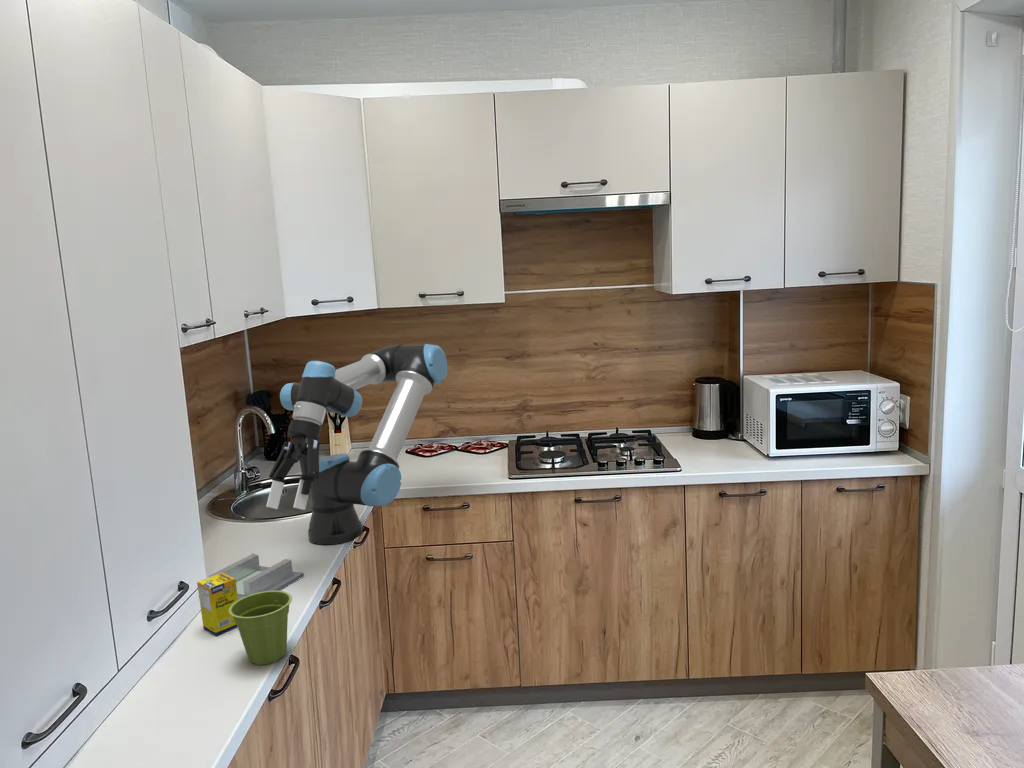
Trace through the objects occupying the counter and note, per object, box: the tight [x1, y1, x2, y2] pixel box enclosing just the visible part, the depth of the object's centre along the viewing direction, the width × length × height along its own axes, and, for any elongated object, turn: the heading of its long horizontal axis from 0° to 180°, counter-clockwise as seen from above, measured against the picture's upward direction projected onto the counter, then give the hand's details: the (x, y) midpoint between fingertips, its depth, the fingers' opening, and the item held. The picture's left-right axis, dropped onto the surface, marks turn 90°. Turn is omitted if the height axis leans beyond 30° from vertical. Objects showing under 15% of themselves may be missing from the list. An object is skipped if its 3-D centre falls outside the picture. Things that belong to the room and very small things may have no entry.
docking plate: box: [208, 553, 305, 600], centre depth 180 cm, size 18×16×5 cm
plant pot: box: [229, 590, 293, 666], centre depth 146 cm, size 12×12×11 cm
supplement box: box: [196, 573, 238, 637], centre depth 160 cm, size 6×6×11 cm
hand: (285, 508), depth 176 cm, fingers open, 13 cm apart
